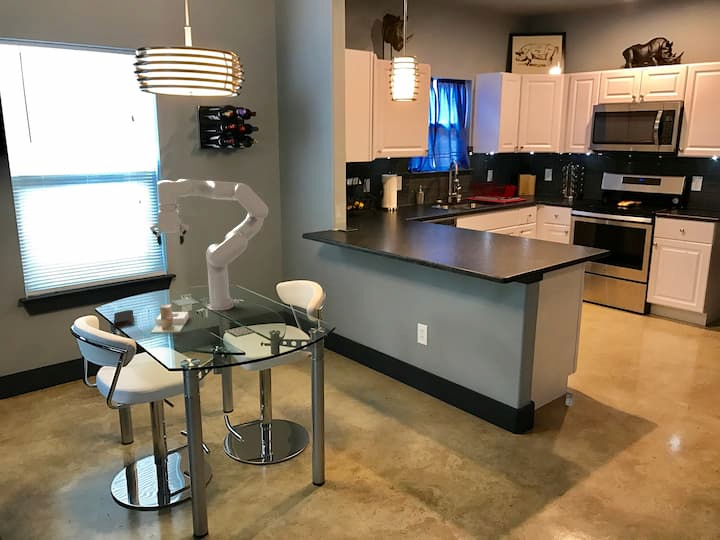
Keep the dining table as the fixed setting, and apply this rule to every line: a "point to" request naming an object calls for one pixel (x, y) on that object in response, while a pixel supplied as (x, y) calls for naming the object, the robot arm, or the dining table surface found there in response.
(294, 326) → the dining table surface
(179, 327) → the mat
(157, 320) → the socket block
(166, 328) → the plug
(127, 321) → the black sponge
